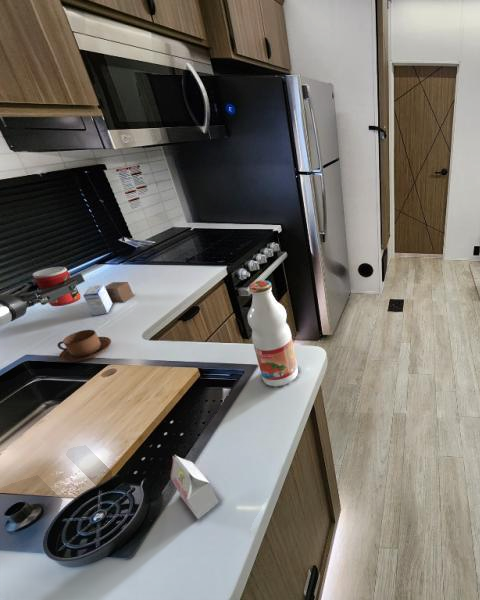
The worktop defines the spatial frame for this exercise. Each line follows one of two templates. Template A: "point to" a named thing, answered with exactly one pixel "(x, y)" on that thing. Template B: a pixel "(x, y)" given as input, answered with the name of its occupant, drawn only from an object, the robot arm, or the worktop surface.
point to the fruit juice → (271, 336)
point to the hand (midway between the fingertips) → (69, 277)
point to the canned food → (53, 278)
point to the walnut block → (119, 291)
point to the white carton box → (193, 487)
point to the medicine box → (98, 300)
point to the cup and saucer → (83, 346)
